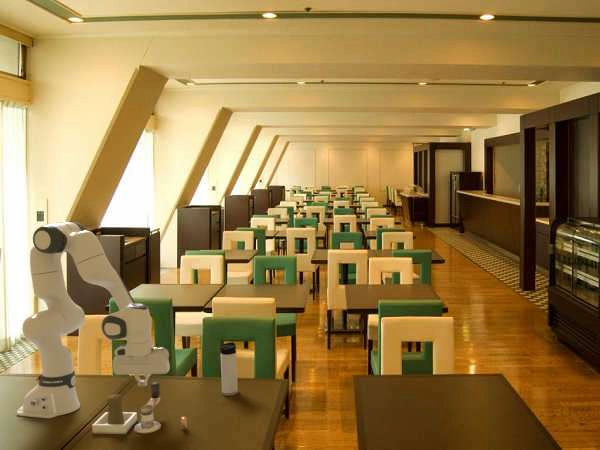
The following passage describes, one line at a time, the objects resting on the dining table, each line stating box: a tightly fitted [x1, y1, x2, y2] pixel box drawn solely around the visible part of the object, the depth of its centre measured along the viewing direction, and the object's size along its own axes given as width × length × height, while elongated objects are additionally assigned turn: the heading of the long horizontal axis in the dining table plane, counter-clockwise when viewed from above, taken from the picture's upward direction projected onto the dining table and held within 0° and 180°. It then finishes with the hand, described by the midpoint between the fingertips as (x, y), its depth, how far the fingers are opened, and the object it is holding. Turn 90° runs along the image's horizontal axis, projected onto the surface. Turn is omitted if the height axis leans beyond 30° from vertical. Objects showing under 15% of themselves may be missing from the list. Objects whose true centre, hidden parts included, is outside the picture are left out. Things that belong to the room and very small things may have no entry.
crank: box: [140, 381, 161, 415], centre depth 226 cm, size 14×4×7 cm, turn 174°
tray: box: [91, 411, 138, 435], centre depth 224 cm, size 12×12×3 cm
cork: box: [106, 393, 125, 425], centre depth 223 cm, size 6×6×11 cm
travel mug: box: [219, 341, 239, 397], centre depth 254 cm, size 6×7×20 cm
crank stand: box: [133, 411, 188, 435], centre depth 221 cm, size 18×9×5 cm, turn 84°
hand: (142, 385), depth 231 cm, fingers closed
